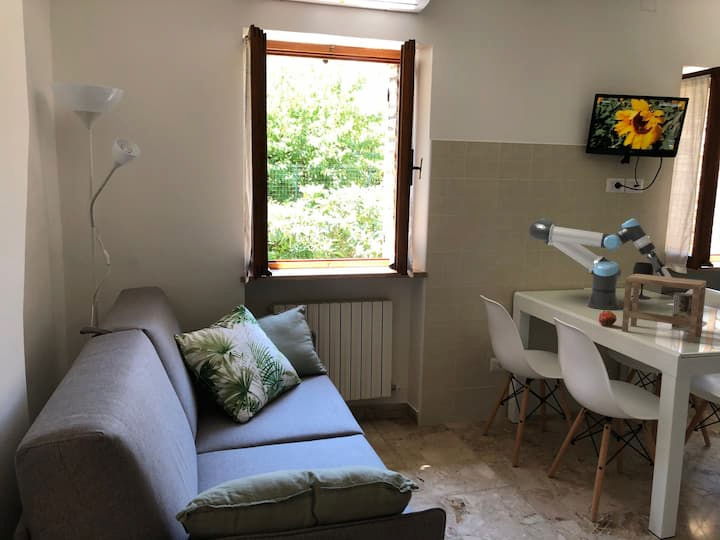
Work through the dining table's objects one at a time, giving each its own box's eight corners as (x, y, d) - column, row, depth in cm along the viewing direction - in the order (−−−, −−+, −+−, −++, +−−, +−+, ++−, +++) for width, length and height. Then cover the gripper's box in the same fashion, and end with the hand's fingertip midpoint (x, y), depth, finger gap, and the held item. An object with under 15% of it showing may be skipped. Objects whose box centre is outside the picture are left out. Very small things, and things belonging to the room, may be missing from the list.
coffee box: (694, 329, 258) (698, 294, 256) (694, 332, 253) (697, 296, 251) (671, 326, 263) (675, 291, 261) (670, 329, 258) (674, 294, 255)
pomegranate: (617, 332, 260) (614, 315, 267) (618, 322, 256) (615, 305, 262) (600, 332, 262) (597, 316, 269) (600, 322, 258) (597, 305, 264)
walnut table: (631, 325, 265) (635, 273, 261) (701, 335, 247) (706, 280, 243) (621, 331, 254) (625, 277, 250) (693, 342, 236) (699, 285, 232)
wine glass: (653, 299, 325) (656, 264, 322) (633, 299, 327) (636, 264, 324) (648, 296, 335) (651, 262, 332) (629, 295, 337) (631, 261, 334)
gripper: (649, 243, 290) (674, 279, 287) (653, 239, 311) (676, 273, 308) (635, 251, 294) (659, 287, 290) (640, 247, 315) (662, 280, 311)
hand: (668, 280), depth 299 cm, fingers open, 13 cm apart
